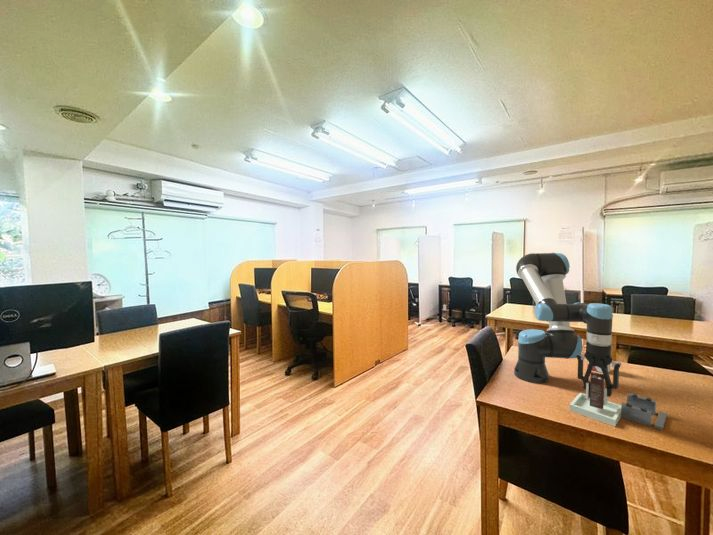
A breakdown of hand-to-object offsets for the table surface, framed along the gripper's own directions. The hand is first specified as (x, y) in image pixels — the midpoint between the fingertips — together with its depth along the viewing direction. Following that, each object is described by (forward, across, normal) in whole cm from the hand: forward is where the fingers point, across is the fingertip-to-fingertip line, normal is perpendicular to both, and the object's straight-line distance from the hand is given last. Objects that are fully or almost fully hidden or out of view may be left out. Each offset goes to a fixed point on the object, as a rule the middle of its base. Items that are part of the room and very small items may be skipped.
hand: (596, 400), depth 114 cm
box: (+2, 0, 0) cm, 2 cm away
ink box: (+5, -9, +47) cm, 48 cm away
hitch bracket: (+5, +12, +9) cm, 16 cm away
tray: (+5, 0, 0) cm, 5 cm away
